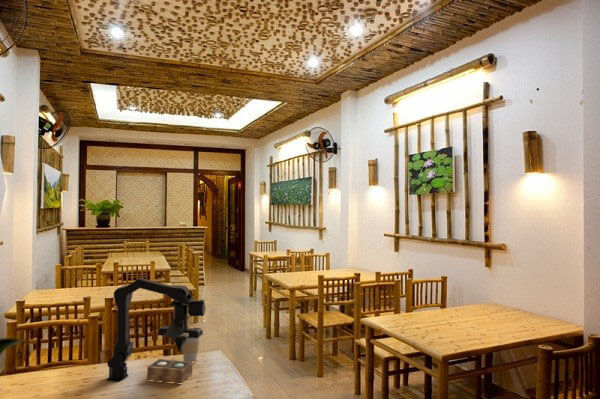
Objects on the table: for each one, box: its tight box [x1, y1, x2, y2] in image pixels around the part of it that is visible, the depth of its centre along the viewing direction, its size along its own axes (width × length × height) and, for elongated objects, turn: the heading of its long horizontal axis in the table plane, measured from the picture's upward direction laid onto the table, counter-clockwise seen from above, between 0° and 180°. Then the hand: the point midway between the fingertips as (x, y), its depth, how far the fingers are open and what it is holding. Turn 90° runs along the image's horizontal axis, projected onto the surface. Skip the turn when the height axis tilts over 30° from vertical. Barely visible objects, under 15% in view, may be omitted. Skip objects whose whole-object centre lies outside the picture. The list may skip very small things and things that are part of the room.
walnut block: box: [146, 358, 193, 384], centre depth 180 cm, size 16×10×6 cm, turn 80°
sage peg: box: [174, 363, 184, 367], centre depth 179 cm, size 4×4×6 cm
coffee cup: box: [182, 328, 200, 362], centre depth 199 cm, size 9×9×15 cm
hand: (179, 351), depth 179 cm, fingers closed
